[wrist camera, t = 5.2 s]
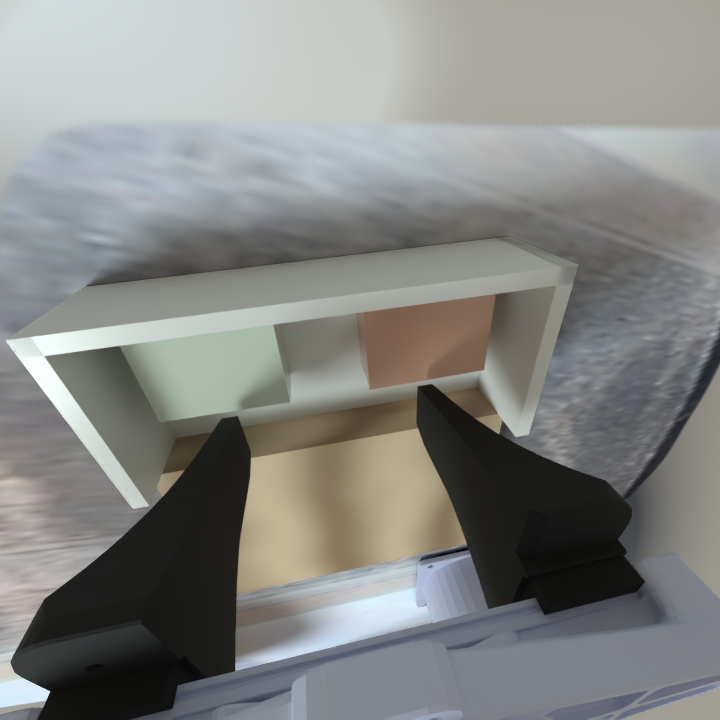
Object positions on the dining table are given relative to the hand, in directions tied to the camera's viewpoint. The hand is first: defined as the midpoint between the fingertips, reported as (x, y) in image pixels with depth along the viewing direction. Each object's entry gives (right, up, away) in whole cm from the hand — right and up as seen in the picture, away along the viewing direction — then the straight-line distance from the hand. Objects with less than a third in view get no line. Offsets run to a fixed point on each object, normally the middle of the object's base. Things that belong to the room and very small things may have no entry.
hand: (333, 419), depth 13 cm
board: (0, -5, +7) cm, 8 cm away
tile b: (-4, +2, -1) cm, 5 cm away
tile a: (+4, +3, -1) cm, 5 cm away
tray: (-1, +3, +1) cm, 3 cm away
